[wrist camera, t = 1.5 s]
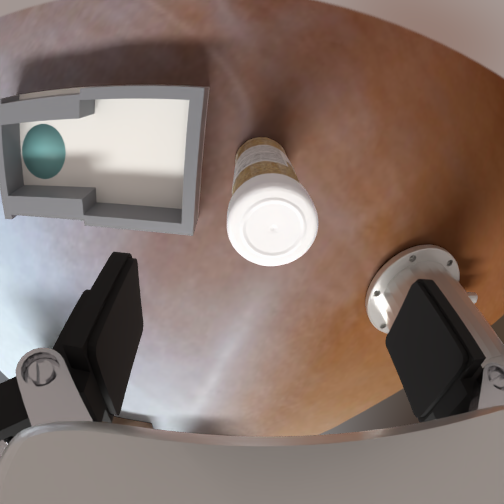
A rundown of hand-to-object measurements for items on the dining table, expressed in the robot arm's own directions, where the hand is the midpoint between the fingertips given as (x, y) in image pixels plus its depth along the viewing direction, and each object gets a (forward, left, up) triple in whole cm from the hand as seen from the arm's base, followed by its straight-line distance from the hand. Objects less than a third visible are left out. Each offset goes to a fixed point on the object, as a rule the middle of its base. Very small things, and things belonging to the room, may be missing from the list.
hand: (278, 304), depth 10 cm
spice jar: (0, 0, -20) cm, 20 cm away
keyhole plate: (+15, 0, -19) cm, 24 cm away
